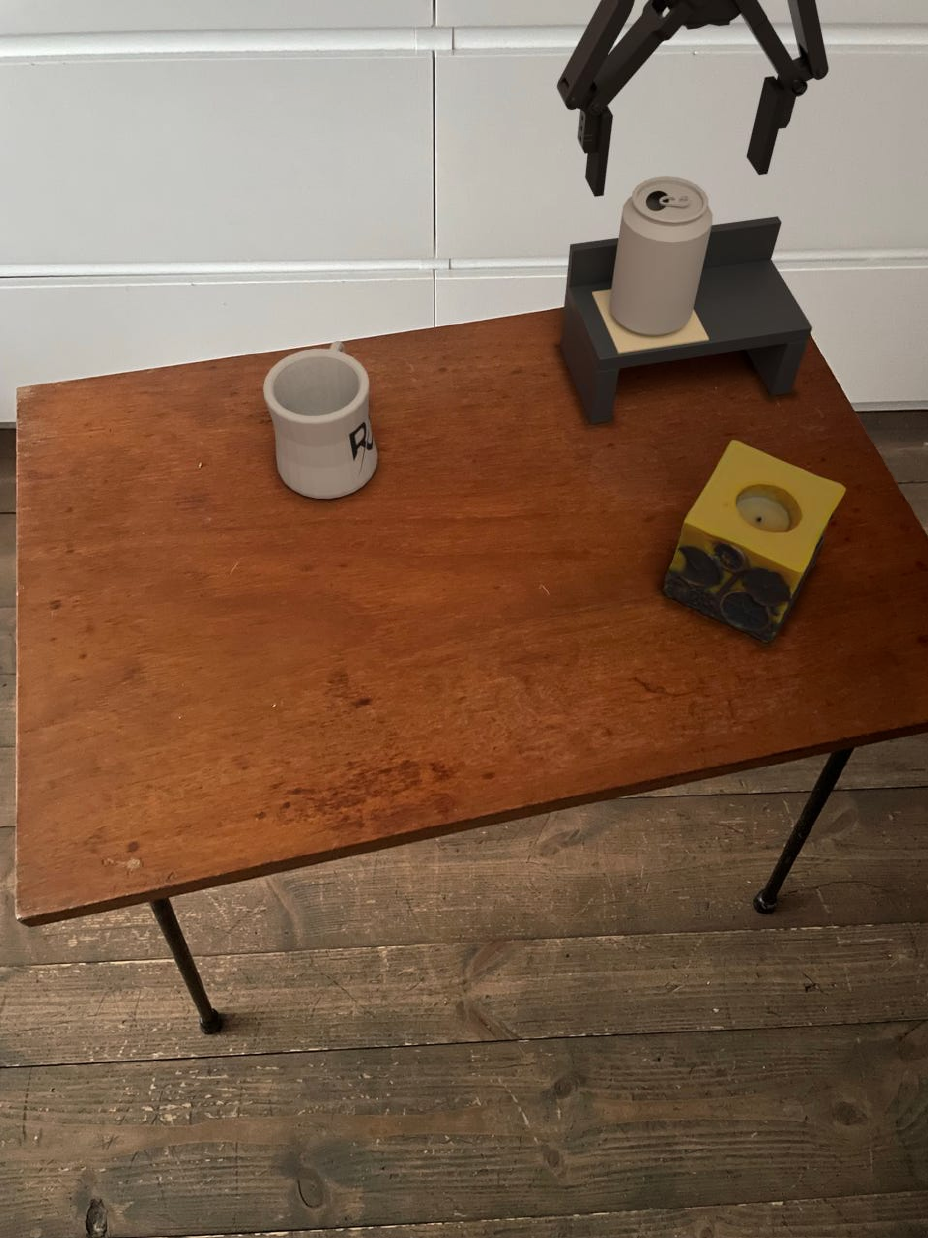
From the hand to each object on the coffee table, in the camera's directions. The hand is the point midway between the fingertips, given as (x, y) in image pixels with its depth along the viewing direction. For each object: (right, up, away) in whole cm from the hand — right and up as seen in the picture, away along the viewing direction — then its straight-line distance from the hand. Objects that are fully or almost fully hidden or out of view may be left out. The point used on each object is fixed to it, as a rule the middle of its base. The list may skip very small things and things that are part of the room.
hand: (676, 176), depth 85 cm
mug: (-29, -20, +13) cm, 38 cm away
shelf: (+4, -11, +19) cm, 22 cm away
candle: (+6, -32, +5) cm, 33 cm away
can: (0, -8, +12) cm, 14 cm away
